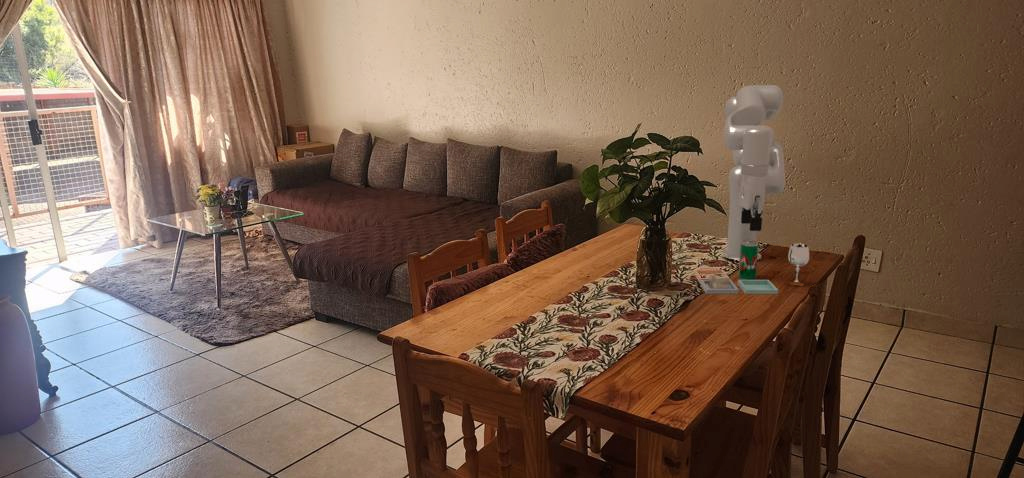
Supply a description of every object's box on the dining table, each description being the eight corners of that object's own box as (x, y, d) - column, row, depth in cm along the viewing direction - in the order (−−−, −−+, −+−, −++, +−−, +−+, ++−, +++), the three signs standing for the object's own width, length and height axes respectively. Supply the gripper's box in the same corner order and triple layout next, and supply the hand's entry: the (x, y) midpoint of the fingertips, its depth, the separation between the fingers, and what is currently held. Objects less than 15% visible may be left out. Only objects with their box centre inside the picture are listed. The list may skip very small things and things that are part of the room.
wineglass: (803, 288, 193) (807, 249, 190) (783, 285, 197) (786, 246, 194) (808, 283, 198) (812, 244, 195) (788, 279, 201) (792, 241, 198)
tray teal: (737, 285, 197) (737, 279, 197) (768, 285, 197) (768, 279, 196) (745, 295, 189) (745, 289, 188) (777, 295, 188) (778, 289, 188)
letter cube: (709, 287, 195) (709, 273, 194) (721, 285, 196) (722, 272, 195) (715, 291, 191) (716, 277, 190) (728, 290, 192) (729, 276, 191)
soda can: (753, 276, 205) (756, 239, 202) (757, 281, 201) (760, 243, 198) (736, 276, 206) (739, 239, 203) (740, 281, 201) (743, 243, 198)
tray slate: (699, 285, 198) (700, 279, 198) (730, 285, 198) (730, 279, 197) (706, 295, 190) (706, 289, 189) (738, 295, 189) (738, 289, 188)
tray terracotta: (693, 275, 208) (694, 269, 207) (722, 275, 207) (723, 269, 207) (699, 284, 199) (699, 278, 199) (729, 284, 199) (730, 278, 198)
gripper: (734, 166, 203) (731, 220, 207) (749, 174, 187) (745, 233, 191) (759, 166, 203) (755, 220, 207) (776, 174, 186) (772, 233, 190)
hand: (750, 226), depth 199 cm, fingers open, 9 cm apart
